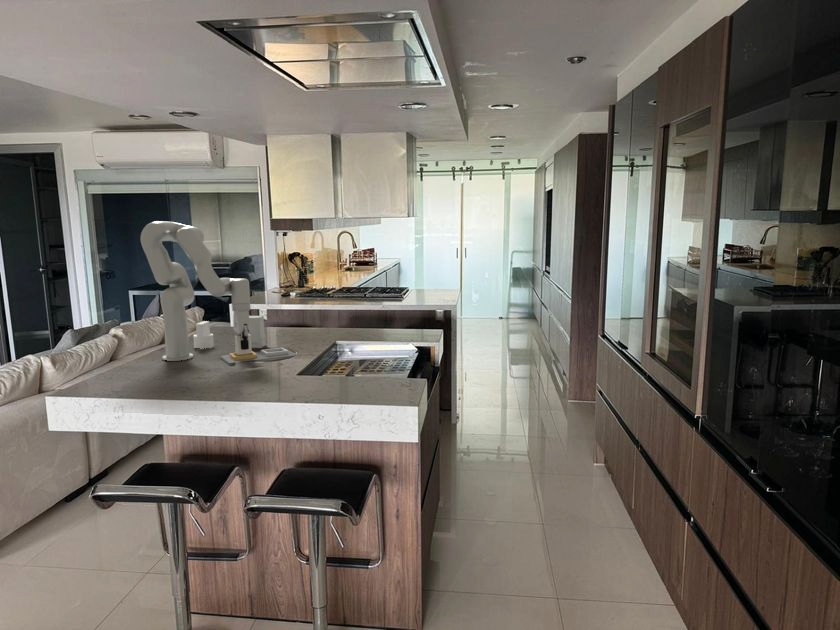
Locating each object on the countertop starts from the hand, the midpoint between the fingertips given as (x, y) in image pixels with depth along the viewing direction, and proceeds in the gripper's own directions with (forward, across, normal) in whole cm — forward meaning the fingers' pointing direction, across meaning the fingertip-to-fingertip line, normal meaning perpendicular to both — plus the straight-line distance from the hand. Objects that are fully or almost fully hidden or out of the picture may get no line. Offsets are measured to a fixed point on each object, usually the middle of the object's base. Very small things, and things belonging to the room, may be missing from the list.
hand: (243, 347), depth 250 cm
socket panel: (+5, 0, +7) cm, 9 cm away
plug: (+2, 0, 0) cm, 2 cm away
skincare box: (+5, -20, +11) cm, 23 cm away
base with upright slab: (+5, -36, -9) cm, 38 cm away
